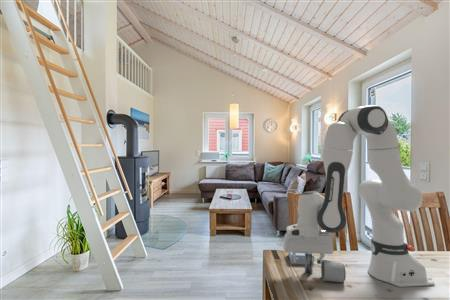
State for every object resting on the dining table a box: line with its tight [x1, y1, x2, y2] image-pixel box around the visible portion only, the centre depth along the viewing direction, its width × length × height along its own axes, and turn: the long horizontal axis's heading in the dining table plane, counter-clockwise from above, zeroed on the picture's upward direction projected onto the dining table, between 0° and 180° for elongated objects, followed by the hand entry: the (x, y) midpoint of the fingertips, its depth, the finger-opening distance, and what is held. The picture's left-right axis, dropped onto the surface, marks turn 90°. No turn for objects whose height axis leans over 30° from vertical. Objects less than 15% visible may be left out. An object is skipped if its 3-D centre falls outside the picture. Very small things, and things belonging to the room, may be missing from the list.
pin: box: [304, 253, 313, 275], centre depth 111 cm, size 3×3×8 cm
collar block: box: [287, 252, 315, 266], centre depth 124 cm, size 10×10×4 cm
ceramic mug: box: [320, 259, 347, 283], centre depth 106 cm, size 11×8×8 cm
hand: (307, 262), depth 110 cm, fingers open, 8 cm apart
